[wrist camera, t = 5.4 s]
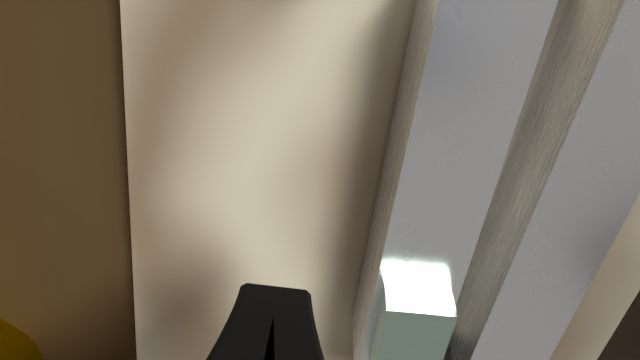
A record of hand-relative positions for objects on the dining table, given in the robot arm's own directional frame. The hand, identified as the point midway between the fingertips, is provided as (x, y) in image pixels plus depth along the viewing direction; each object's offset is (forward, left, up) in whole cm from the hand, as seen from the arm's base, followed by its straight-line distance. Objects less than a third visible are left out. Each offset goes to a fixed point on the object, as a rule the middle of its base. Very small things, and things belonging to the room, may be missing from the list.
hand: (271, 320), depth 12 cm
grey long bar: (-7, +2, -7) cm, 10 cm away
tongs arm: (-4, 0, -7) cm, 8 cm away
